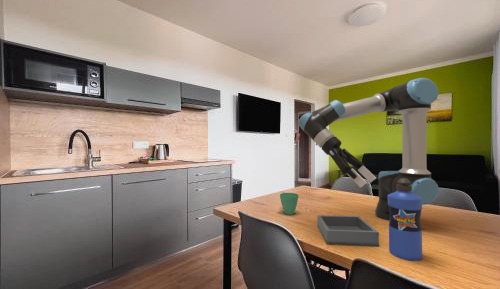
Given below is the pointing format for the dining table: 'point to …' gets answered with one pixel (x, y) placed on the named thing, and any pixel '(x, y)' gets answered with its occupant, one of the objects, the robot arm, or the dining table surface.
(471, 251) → the dining table surface
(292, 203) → the mug
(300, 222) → the dining table surface
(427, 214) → the dining table surface
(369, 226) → the tray
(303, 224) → the dining table surface
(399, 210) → the blue plastic bottle
